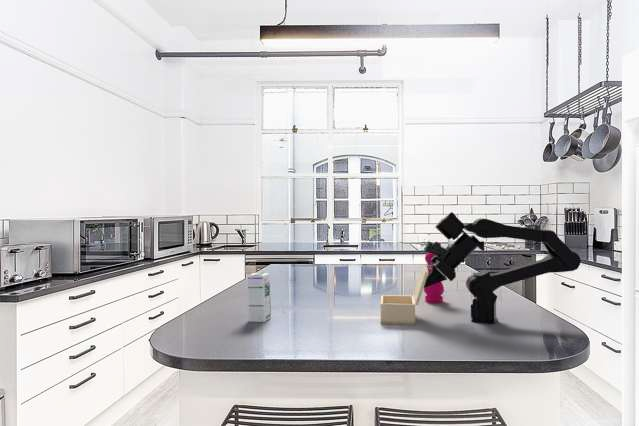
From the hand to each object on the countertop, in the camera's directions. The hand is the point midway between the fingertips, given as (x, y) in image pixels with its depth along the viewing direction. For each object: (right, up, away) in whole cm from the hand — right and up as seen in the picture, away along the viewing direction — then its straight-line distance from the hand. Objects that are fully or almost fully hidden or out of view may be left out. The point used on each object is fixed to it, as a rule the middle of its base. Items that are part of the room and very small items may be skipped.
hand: (422, 286), depth 142 cm
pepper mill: (+10, -10, +27) cm, 31 cm away
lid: (-1, +1, 0) cm, 1 cm away
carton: (-8, -10, +1) cm, 13 cm away
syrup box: (-51, -11, +3) cm, 52 cm away
